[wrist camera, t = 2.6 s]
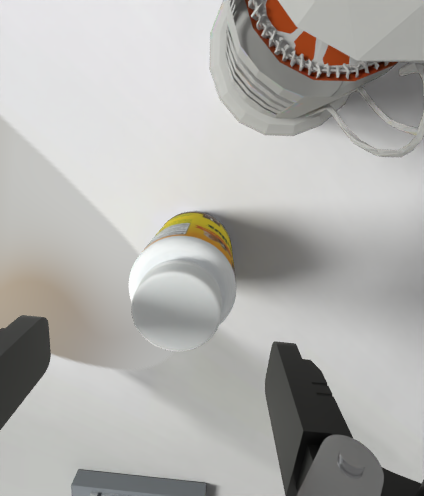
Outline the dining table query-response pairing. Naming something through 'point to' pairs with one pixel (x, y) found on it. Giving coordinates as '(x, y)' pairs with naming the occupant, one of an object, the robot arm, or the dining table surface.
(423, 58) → the french press
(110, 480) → the rail board
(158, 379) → the dining table surface
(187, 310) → the supplement bottle
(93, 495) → the steel rail
